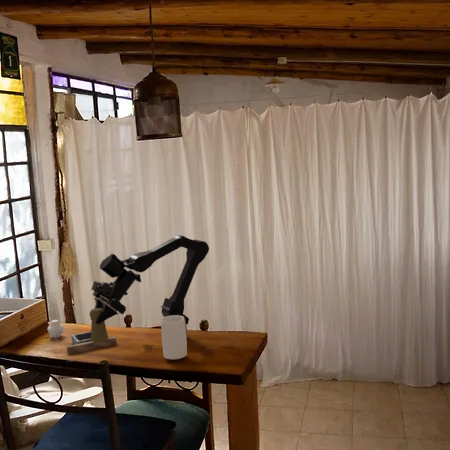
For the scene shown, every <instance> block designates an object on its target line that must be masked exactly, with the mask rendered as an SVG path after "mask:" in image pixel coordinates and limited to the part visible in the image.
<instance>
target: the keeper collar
mask: <svg viewBox="0 0 450 450" xmlns="http://www.w3.org/2000/svg"><path fill="white" fill-rule="evenodd" d="M90 341H91V331H86V332H82V333H81V332H80V333H77V334H72V335H71V342H72V345H75V344H80V343H85V342H90Z"/></svg>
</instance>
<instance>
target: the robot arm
mask: <svg viewBox="0 0 450 450" xmlns="http://www.w3.org/2000/svg"><path fill="white" fill-rule="evenodd" d="M180 248H183V249H186V260H185V262H184V266H183V268H182V270H181V274H180V276H179V278H178V281H177V283H176V285H175V288H174V290H173V293H172V295H171V296H170V297H169V298H168V297H165V298H164V301H163V304H162V305H161V306H160V308H161V314H162V316H163V318H164V317H167V316H172V315H179V316H183V317H184V318H185V325H186V338H187V341H188V340H189V337H188V331H187V328H188V327H187V325H189V321H190V318H189V317H187V316H186V314H184V311H185V298H186V297H187V294H188V291H189V289H190V286H191V284H192V281H193V279H194V277H195V273H196V271H197V269H198V266H199V265H200V264H201V263H202V262H203V261H204V260H205V259H206V257H207V255H208V253H209V250H210V245H209V244H208V242H206V241H203V240H198V239H191V238H188V237H186V236H184V235H180V234H177V235H176V234H175V236H174V237H172V238H170V239H168V240H166V241H165V242H162V243H160V244H158V245H157V246H155V247H153V248H151V249H149V250H146V251H142V252H138V253H134V254H131V255H130V256H129V257H128V258H126V259H123V260H121V259H120V258H118V256H117V255H116V254H114V253H110V254H109V255H108V256H107V257H105V258H104V259H103V260H101V263H100V265H99V269H100V270H101V271H103V272H104V273H105V274H107V275H108V276H109V277H110V278H111V279H113V278H116V279H115V280H114V281H110V282H105V281H103V282H100V281H97V280H94V281H93V283H92V286H91V290H92V291H93V293H92V296H94V301H95V306H94V308H102V309H103V310H102V312H101V313H100V315H99V317H98V319H97V321H96V324H100V323H101V322H103V321H106V320H108V319H110V318H113V317H114V316H116V315H119V314H120V315H124V314H125V312H126V311H127V307H126V306H125V305H124V304H123V303H122V302H121V300H122V299H123V298H124V296H127V295H128V294H129V293H128V290H130V288H131V287H132V285H133V284H134V283H135V282H138V283H141V282H142V279H141V274H140V273H145V271H147V270H148V269H149V268H150V267H152V266H153V265H154V264H155V262H157V261H158V260H160V259H161V258H163V257H165V256H166V255H169V254H170V253H172V252H174V251H176V250H178V249H180ZM125 268H126V269H125ZM127 269H129V270H127ZM134 271H135V272H137V274H136V273H135V272H134ZM90 320H91V321H92V319H91V318H90Z"/></svg>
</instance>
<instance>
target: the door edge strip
mask: <svg viewBox="0 0 450 450" xmlns="http://www.w3.org/2000/svg"><path fill="white" fill-rule="evenodd" d="M114 345H117V337H116V336H110V337H109V336H108V339H107V340H105V341H102V342H92V341H90V342H85V343H80V344H75V345H74V344H71V345H67V346H66V353H67V355H72V354H77V353H80V352H81V353H82V352H85V351H90V350H96V349H101V348H105V347H108V346H114Z"/></svg>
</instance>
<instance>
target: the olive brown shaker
mask: <svg viewBox="0 0 450 450" xmlns="http://www.w3.org/2000/svg"><path fill="white" fill-rule="evenodd" d="M102 310H103V309H102V308H95V307H94V308H92V309H91V310H89V317H90V320H91V319H92V320H91V325H90V326H91V328H90V329H91V341H92V342H102V341H105V340H107V339H108V338H109V336H108V335H109V334H108V331H107V327H106V323H105V321H106V320H105V321H103V322H101V323H100V324H96V321H97V319H98V317H99V315H100V313H101V312H102Z"/></svg>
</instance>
